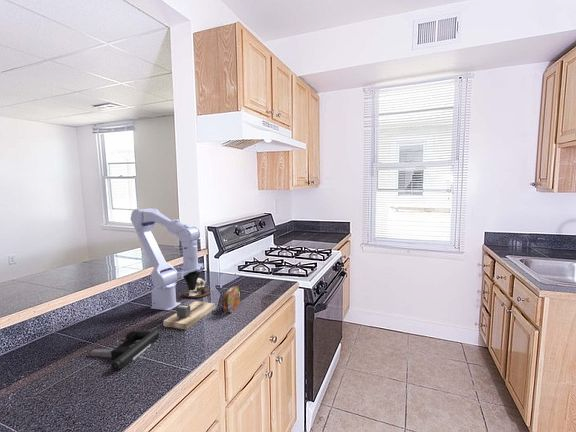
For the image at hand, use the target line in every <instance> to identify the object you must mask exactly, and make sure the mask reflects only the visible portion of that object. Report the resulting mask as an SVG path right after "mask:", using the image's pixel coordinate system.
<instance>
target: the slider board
mask: <svg viewBox="0 0 576 432" xmlns="http://www.w3.org/2000/svg"><path fill="white" fill-rule="evenodd" d="M188 305H189V306H190V312H191V314H190V315H189V316H187V317H186V318H185V317H178V316H177V312H175V313H174V314H173V313H172V315H170V316H169V317H167V318H165V319H164V320H163V327H165V328H166V327H168V328H174V329H181V330H188V329H189V328H191V327H192V326H193V325H195V324H196V323H197V322H199V320H201V319H203V318H204V317H205V316H207V315H208V314H209V313H211V312H212V311H213V310H215V309H216V303H213V302H207V301H206V302H204V301H203V302H202V301H193V302H191V303H190V304H188Z"/></svg>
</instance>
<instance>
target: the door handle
mask: <svg viewBox="0 0 576 432" xmlns="http://www.w3.org/2000/svg"><path fill="white" fill-rule="evenodd" d="M159 336H160V331H158V330H155V329H154V330H151V331H147V330H146V331H142V330H139V331H135V330H133V331H132V330H131V331H129V332H127V334H126V335H125V338H126V340H125V341H123V342H121V343H120V344H119V345H118V346H116V347H115V348H113V349H111V348H110V349H109V348H107V349H106V348H94V349H92V350H90V352H89V353H90V357H98V356H101V357H102V358H111V360H113V362H112V363H111V368H112V370H114V371H118V370H120V369H122V368H124V367H125V366H126V365H127V364H128V363H130V362H131V361H134V360H136V359H137V358H138V357H139V356H140V355H141V354H143V353H144V352H145V351H146V350H148V348H150V347H151V346H152V345H151V344H152V343H153V342H155V341H156V340H158V339H159ZM134 343H135V344H134ZM133 344H134V345H133ZM131 345H132V346H131ZM101 357H100V358H101Z"/></svg>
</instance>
